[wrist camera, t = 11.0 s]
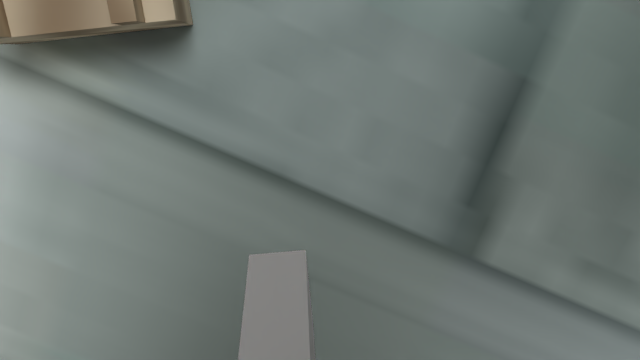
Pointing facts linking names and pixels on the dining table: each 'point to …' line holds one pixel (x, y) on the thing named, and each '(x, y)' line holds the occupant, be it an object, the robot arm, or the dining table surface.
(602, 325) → the dining table surface
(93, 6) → the launcher
